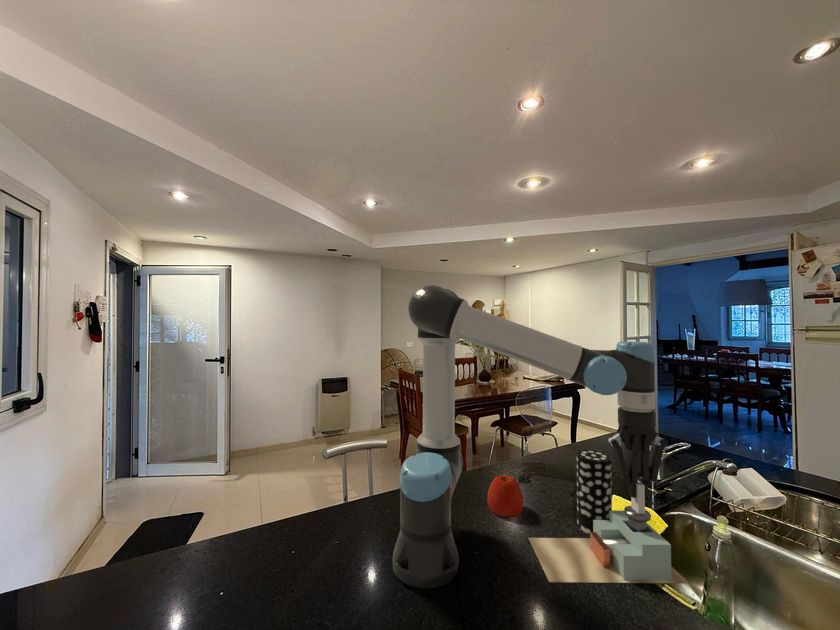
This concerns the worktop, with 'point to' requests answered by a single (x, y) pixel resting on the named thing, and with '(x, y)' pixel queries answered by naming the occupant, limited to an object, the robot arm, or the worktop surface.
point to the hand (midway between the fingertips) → (638, 510)
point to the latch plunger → (637, 519)
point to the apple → (505, 497)
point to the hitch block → (636, 549)
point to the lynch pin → (604, 548)
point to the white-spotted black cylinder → (593, 488)
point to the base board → (580, 563)
